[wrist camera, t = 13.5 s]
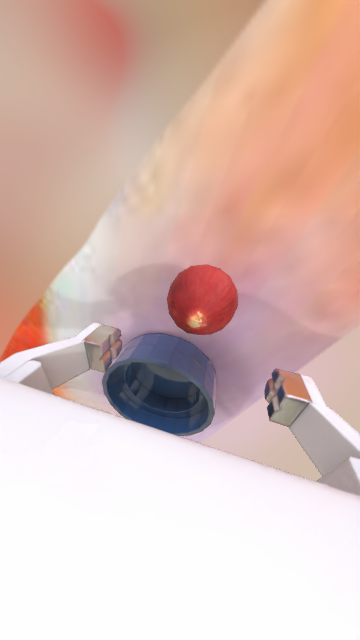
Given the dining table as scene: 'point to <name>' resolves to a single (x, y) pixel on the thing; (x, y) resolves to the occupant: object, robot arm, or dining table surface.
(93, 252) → the dining table surface
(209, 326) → the onion
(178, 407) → the bowl
